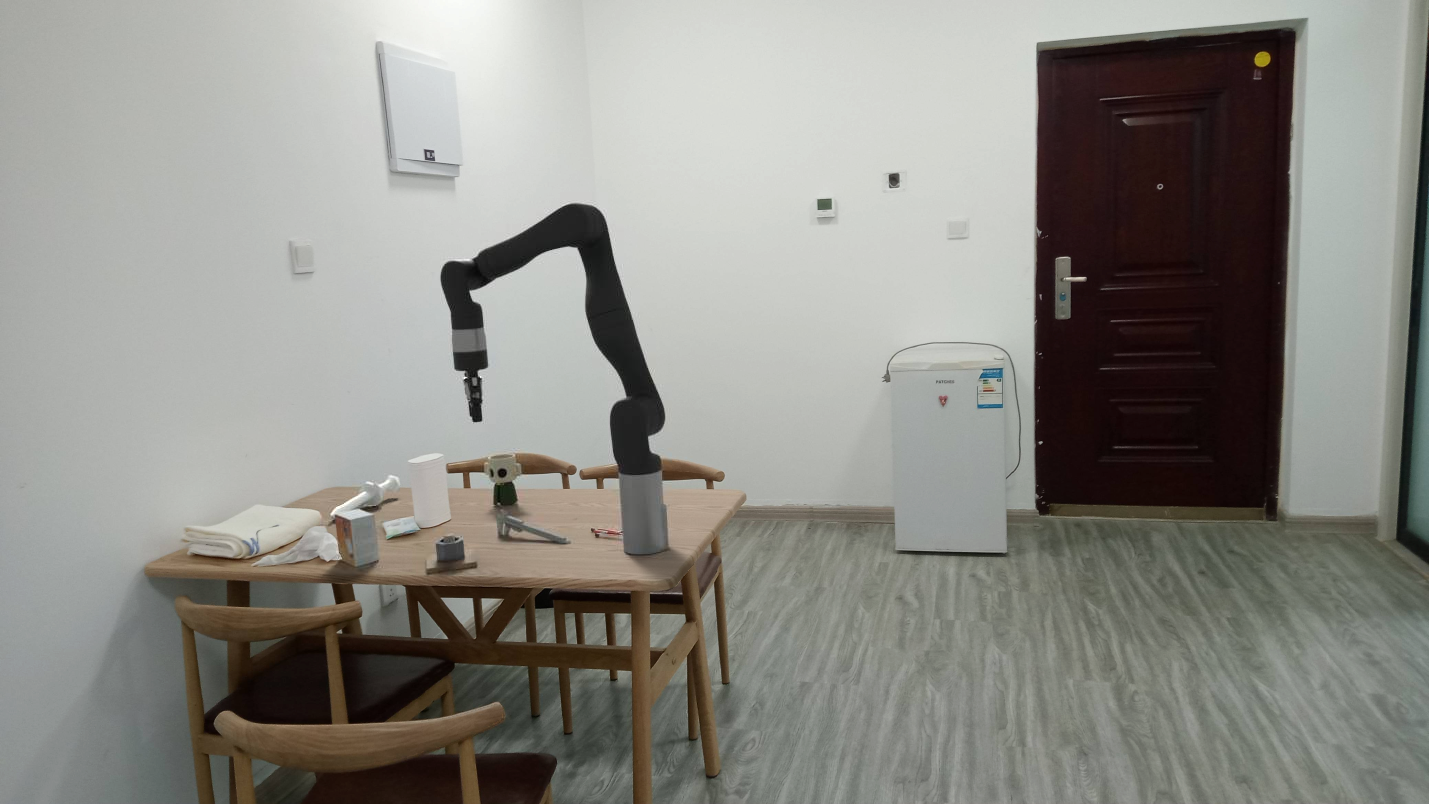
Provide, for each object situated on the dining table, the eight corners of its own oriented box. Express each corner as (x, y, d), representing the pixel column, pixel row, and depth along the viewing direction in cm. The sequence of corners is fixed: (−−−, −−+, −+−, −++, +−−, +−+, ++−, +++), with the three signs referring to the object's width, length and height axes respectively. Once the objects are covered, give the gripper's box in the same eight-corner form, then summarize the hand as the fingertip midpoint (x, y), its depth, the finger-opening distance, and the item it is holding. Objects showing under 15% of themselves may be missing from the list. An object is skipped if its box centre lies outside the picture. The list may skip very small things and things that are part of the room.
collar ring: (464, 552, 202) (462, 534, 201) (465, 560, 196) (463, 541, 196) (437, 556, 200) (435, 538, 200) (437, 563, 195) (435, 545, 194)
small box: (339, 560, 204) (333, 513, 203) (364, 553, 208) (358, 507, 207) (354, 567, 199) (349, 519, 197) (380, 560, 202) (374, 513, 201)
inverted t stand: (474, 552, 205) (472, 526, 204) (477, 566, 195) (474, 538, 194) (426, 559, 202) (424, 532, 201) (427, 573, 192) (424, 545, 191)
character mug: (480, 507, 243) (475, 458, 241) (495, 500, 249) (491, 453, 248) (516, 509, 239) (512, 460, 237) (531, 502, 246) (527, 454, 244)
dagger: (340, 520, 233) (412, 477, 257) (323, 503, 233) (396, 461, 258) (328, 538, 236) (400, 494, 261) (311, 521, 237) (384, 479, 261)
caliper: (497, 536, 218) (495, 509, 217) (500, 534, 219) (498, 508, 218) (568, 544, 208) (565, 517, 207) (571, 543, 209) (568, 516, 208)
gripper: (489, 349, 206) (495, 422, 209) (483, 345, 219) (489, 413, 222) (454, 352, 204) (461, 425, 206) (450, 347, 217) (457, 416, 220)
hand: (475, 419), depth 214 cm, fingers open, 8 cm apart
